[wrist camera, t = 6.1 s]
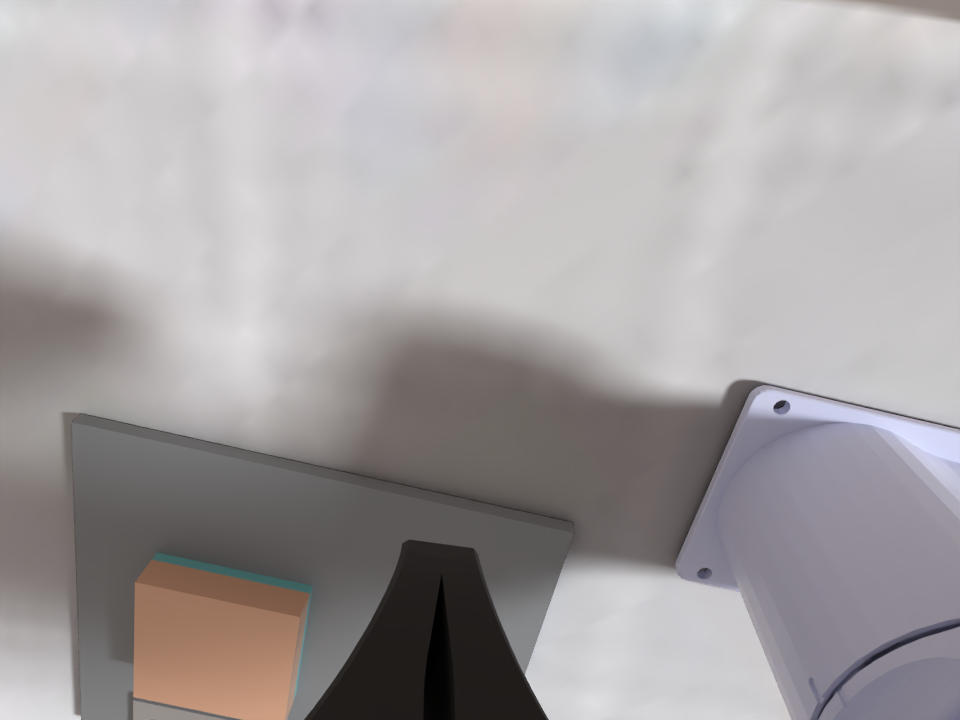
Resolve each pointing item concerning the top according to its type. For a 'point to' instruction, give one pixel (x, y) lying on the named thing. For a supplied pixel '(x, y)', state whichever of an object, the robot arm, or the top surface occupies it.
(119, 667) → the board
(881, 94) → the top surface
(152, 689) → the tile
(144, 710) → the bar
